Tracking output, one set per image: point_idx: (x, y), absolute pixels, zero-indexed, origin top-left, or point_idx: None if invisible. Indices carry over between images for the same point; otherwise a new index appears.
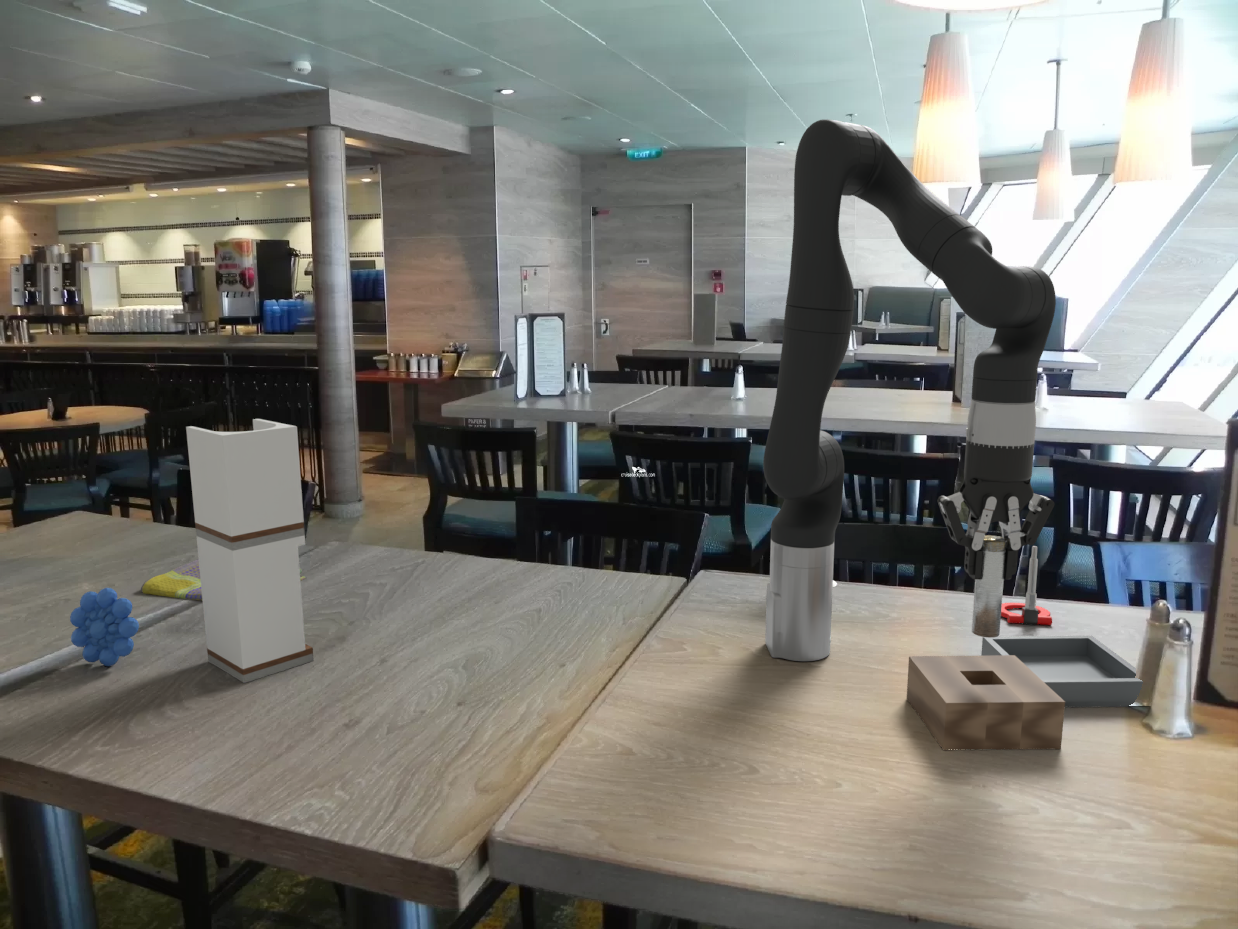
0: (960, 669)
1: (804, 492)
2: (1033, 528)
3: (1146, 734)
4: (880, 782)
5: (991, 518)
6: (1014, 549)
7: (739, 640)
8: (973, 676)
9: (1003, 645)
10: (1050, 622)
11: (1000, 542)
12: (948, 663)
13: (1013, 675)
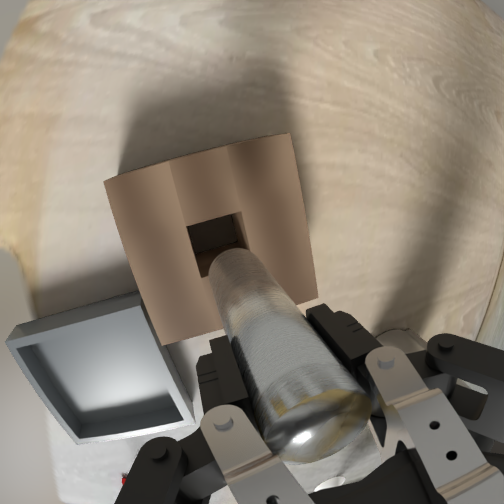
0: None
1: None
2: (155, 501)
3: (20, 249)
4: (340, 57)
5: (402, 473)
6: (224, 406)
7: None
8: None
9: (169, 417)
10: (123, 479)
11: (304, 398)
12: None
13: (170, 268)
